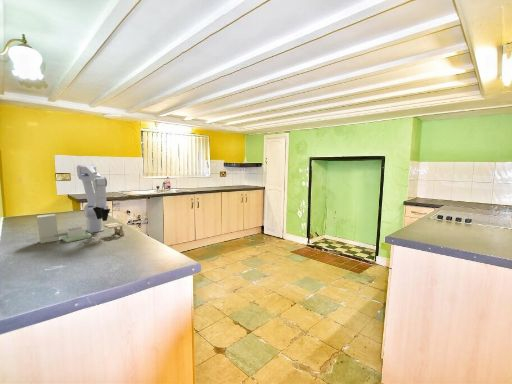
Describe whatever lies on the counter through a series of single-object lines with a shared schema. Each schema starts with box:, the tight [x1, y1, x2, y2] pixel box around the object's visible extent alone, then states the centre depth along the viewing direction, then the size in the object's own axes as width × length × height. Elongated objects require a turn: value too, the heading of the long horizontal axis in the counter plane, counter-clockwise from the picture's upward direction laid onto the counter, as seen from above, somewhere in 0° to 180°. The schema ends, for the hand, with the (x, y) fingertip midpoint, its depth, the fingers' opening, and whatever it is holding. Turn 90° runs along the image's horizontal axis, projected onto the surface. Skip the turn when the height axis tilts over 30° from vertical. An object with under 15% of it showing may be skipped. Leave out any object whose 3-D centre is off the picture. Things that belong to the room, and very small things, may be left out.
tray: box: [60, 231, 93, 243], centre depth 150 cm, size 10×12×2 cm
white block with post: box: [55, 226, 86, 238], centre depth 147 cm, size 6×14×5 cm, turn 139°
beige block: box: [103, 222, 125, 237], centre depth 156 cm, size 9×8×7 cm
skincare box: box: [36, 213, 60, 244], centre depth 144 cm, size 8×6×15 cm
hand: (102, 219), depth 156 cm, fingers open, 7 cm apart
